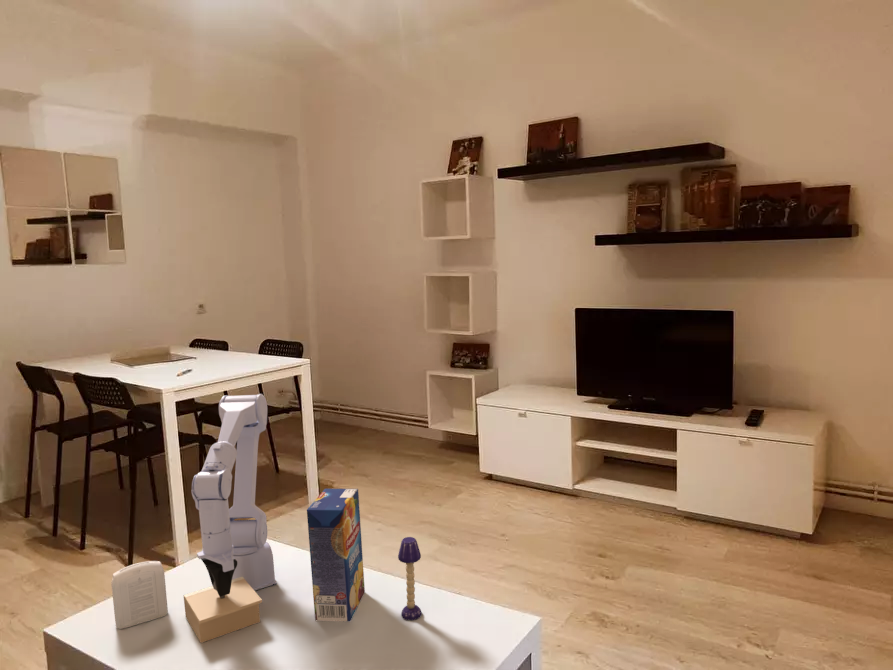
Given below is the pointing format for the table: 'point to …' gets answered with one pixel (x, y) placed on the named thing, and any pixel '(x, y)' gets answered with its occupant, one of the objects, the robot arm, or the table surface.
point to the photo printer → (139, 593)
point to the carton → (222, 622)
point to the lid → (221, 600)
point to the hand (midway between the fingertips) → (221, 591)
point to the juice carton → (336, 554)
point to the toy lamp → (410, 576)
